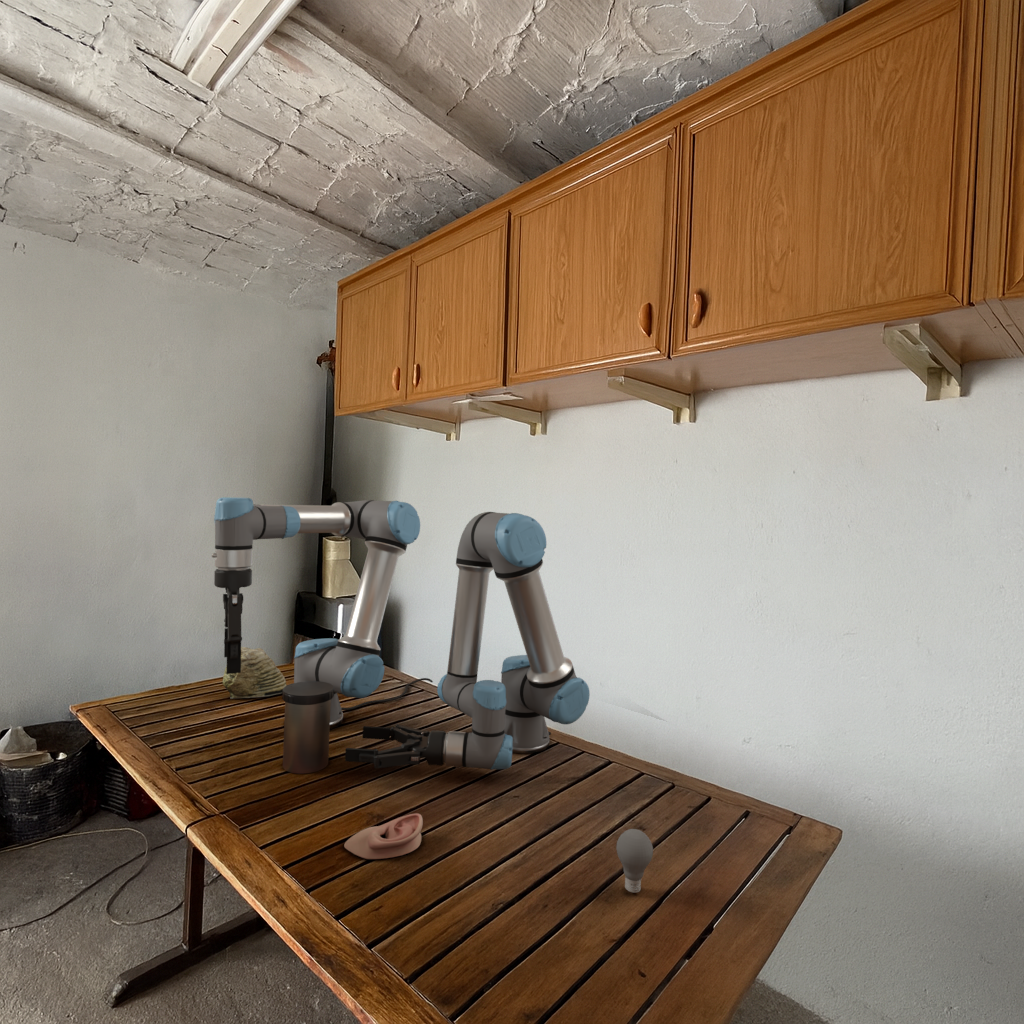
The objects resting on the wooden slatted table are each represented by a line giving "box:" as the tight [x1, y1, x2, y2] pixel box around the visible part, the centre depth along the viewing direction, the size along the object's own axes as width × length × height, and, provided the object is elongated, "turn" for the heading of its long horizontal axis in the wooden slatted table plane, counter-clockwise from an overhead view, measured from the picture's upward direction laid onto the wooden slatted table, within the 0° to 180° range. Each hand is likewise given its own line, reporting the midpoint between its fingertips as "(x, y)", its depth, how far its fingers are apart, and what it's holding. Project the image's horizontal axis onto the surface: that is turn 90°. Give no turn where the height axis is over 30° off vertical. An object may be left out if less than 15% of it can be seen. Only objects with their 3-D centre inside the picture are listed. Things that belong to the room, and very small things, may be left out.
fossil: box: [222, 646, 288, 699], centre depth 198 cm, size 9×18×15 cm, turn 132°
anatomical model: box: [343, 813, 424, 860], centre depth 117 cm, size 13×4×12 cm
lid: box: [281, 681, 334, 705], centre depth 149 cm, size 12×12×2 cm
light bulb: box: [615, 828, 654, 894], centre depth 106 cm, size 6×6×10 cm
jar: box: [282, 700, 331, 775], centre depth 149 cm, size 10×10×18 cm
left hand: (232, 664), depth 139 cm, fingers open, 13 cm apart
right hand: (354, 742), depth 147 cm, fingers open, 13 cm apart
